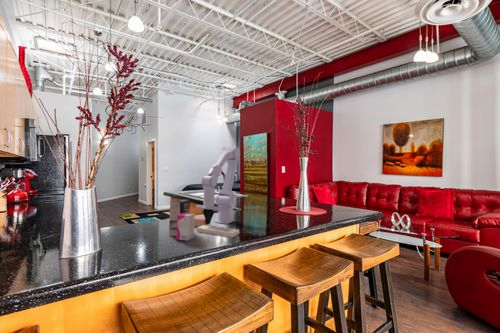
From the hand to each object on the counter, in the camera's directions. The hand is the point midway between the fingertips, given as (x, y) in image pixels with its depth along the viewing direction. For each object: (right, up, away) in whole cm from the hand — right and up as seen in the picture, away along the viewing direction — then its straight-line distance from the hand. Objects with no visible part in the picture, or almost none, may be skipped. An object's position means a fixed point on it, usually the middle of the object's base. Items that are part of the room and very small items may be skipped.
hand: (208, 223), depth 139 cm
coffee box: (-12, -2, -13) cm, 18 cm away
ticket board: (+6, -2, -9) cm, 12 cm away
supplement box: (-7, -3, -22) cm, 23 cm away
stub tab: (-7, -1, +3) cm, 8 cm away
